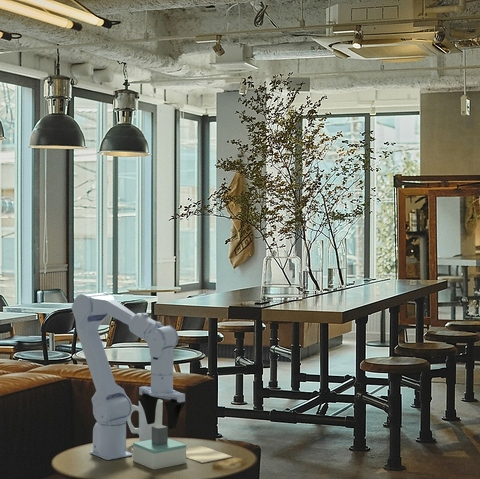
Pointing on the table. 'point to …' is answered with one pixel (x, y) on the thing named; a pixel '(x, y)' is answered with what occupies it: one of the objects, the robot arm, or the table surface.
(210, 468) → the table surface
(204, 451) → the cork mat
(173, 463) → the storage box
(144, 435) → the mug
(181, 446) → the lid
